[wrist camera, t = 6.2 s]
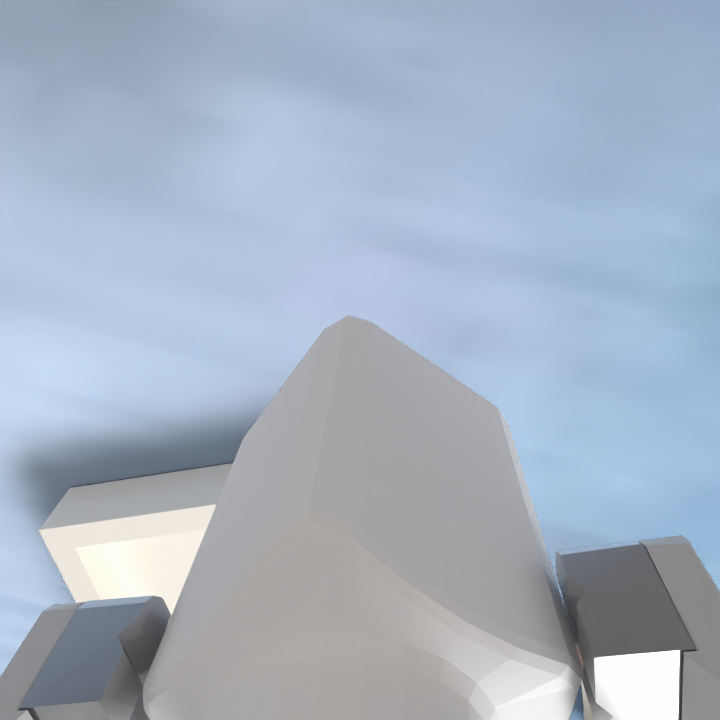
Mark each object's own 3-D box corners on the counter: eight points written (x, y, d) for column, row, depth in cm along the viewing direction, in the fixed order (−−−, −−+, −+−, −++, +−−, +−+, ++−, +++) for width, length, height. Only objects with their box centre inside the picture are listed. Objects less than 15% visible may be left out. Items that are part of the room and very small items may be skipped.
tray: (475, 425, 23) (485, 465, 21) (517, 714, 30) (528, 768, 28) (69, 487, 25) (38, 530, 23) (193, 747, 32) (178, 800, 29)
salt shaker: (393, 536, 14) (387, 1336, 5) (234, 442, 13) (-89, 1209, 4) (517, 407, 12) (801, 1237, 4) (346, 291, 11) (190, 1006, 3)
